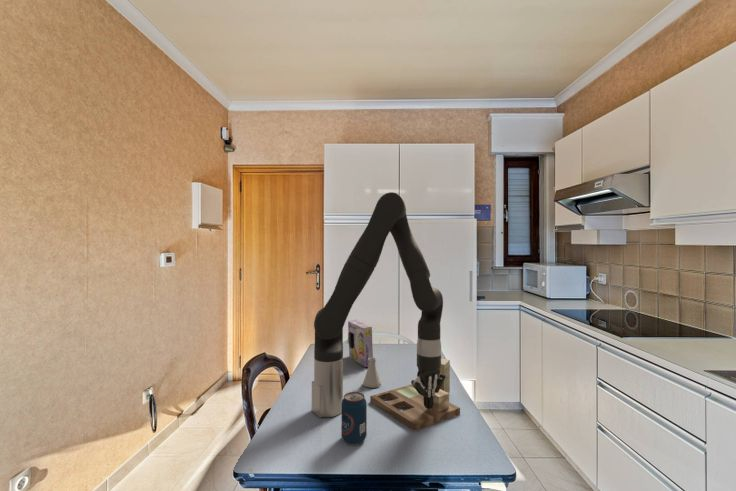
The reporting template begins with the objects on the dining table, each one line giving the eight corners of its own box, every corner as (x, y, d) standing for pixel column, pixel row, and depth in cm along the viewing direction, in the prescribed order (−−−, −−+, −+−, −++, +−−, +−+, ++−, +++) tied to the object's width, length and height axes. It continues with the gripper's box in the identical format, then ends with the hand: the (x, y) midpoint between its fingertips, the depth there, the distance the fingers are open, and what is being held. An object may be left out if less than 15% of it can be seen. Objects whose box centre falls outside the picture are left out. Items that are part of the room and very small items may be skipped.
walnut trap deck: (415, 431, 103) (415, 424, 103) (370, 401, 122) (370, 396, 122) (460, 414, 113) (460, 407, 113) (412, 389, 133) (412, 384, 133)
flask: (379, 389, 133) (379, 362, 133) (360, 387, 134) (360, 361, 134) (382, 382, 140) (382, 356, 140) (364, 380, 141) (364, 355, 141)
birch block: (439, 411, 111) (439, 396, 111) (429, 405, 115) (429, 391, 115) (449, 407, 113) (449, 393, 113) (439, 402, 117) (439, 388, 117)
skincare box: (438, 390, 132) (438, 357, 132) (450, 393, 130) (450, 359, 130) (432, 396, 126) (432, 362, 126) (444, 399, 124) (444, 364, 124)
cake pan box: (347, 356, 172) (347, 319, 172) (356, 354, 174) (356, 318, 174) (363, 368, 155) (363, 327, 155) (373, 366, 157) (373, 326, 157)
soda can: (336, 439, 98) (336, 396, 98) (354, 430, 103) (354, 389, 103) (353, 449, 93) (353, 404, 93) (371, 439, 98) (371, 396, 98)
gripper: (421, 359, 104) (420, 418, 104) (452, 351, 112) (452, 406, 112) (404, 352, 111) (404, 408, 111) (435, 346, 118) (435, 398, 118)
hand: (428, 407), depth 111 cm, fingers closed
